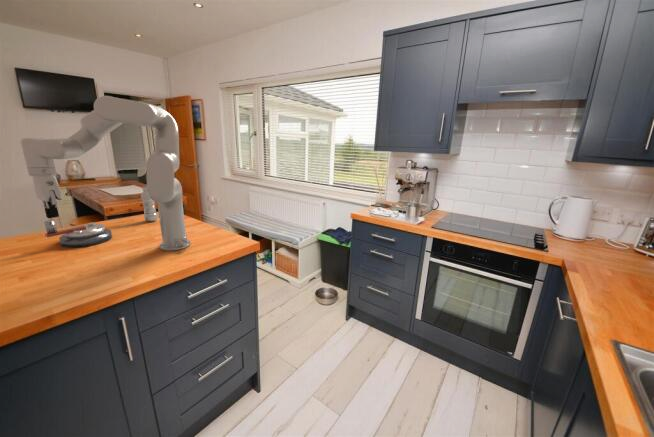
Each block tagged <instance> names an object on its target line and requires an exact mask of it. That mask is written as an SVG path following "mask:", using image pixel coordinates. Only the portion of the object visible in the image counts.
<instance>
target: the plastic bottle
mask: <svg viewBox="0 0 654 437" xmlns="http://www.w3.org/2000/svg"><path fill="white" fill-rule="evenodd" d="M142 191H143V192H142V193H141V195H140V199H141V201H142V206H143V212H144V214H143V218H144V221H146V222H155V221H157V220H159V214H158V213H157V210H156V205H155V204H156V202H155V201H153V200H152V199H151V198H150V196H149V194H148V190H147V185H146V186H142Z"/></svg>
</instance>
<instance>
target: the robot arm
mask: <svg viewBox="0 0 654 437" xmlns="http://www.w3.org/2000/svg"><path fill="white" fill-rule="evenodd" d="M176 121H177V120H175V118H174V116H172V115H171V113H170V112H168V111H166V110H165V109H164V108H162V107H160V106H158V105H155V104H152V103H147V102H143V101H137V100H131V99H127V98H122V97H121V98H119V97H114V96H111V95H101V96H99V97H97V98H96V99H95V101H94V102H93V110H91V111H90V112H88V113H87V114H86V115H83V117H82V118H81V119H80V123H81V125H82V126H81V128H79V130H78V131H77V132H75V133H74V134H72V135H70V136H69V137H68V138H67V137H66V138H64V137H63V138H48V139H47V138H43V137H24V138H22V139H21V140H20V144H21V148H22V154H23V156H24V160H25V161H24V162H25V164H26V169H27V173H28V176H29V177H32V181H33V182H32V183H33V187H34V192H35V195H36V198H37V199H38V200H41V201H42V205H43V207H44V212H45V217H46V218H47V219H55V218H59V217H60V215H59V211H58V202H57V200H58V201H62V200H63V196H62V191H61V189H60V184H59V182H58V180H57V173H58V172H57V170H56V164H55V160H67V159H74V158H79V157H81V156H83V155H84V154H86V153H87V152H90V150H92V149H93V148H95V147H96V146H97V145H98V144H99V143H100V142H101V141H102V140H103V138H104V137H105V136H107V135H108V134H110V133H111V132H112V131H114V130H115V129H118V128H119V127H120V126H121V125H123V124H126V125H135V126H140V127H146V128H147V127H148V128H153V129H155V137H154V144H155V147H154V149H155V152H153V153H151V154H150V155H149V157H147V161H146V186H147V190H148V194H149V196H150V198H151V199H152V200H153V201H154V202H155V203H157V210H158V220H159V224H160V232H161V239H162V242H160V243H159V245H158V246H159V249H160V250H162V251H169V252H172V251H173V252H174V251H178V250H183V249H186V248H188V247H190V246H191V240H190V239H189V238H188V237H187V234H186V233H187V232H186V224H185V215H184V214H185V213H184V206H183V204H184V203H183V187H182V184H181V182H180V181H179V180H178V179H177V178H176V177H175V173H176V172H177V171H178V170H179V168H180V163H181V162H180V136H179V135H180V134H179V132H180V131H179V127H178V123H177V122H176Z"/></svg>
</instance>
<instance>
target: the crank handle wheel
mask: <svg viewBox="0 0 654 437" xmlns="http://www.w3.org/2000/svg"><path fill="white" fill-rule="evenodd" d="M43 224H44V227H45V231H46V233H44V235H45V236H44V237H46V238H50V237H51V238H52V237H56V236H62V235H65V237H66V238H67V239H84V238H90V237H95V236H98V235H101V234H103V233H105V229H106V226H105V225H104V224H101V223H100V224H99V223H96V222H88V223H86V224H81V225H76V226H73V227H68V228H67V229H66V228H65V229H60V230H57V227H56V226H57V225H56V222H55V220H45V221H44V222H43Z"/></svg>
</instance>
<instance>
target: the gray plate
mask: <svg viewBox="0 0 654 437" xmlns="http://www.w3.org/2000/svg"><path fill="white" fill-rule="evenodd" d="M58 239H59V244H60V246H61V247H62V248H65V249H81V248H87V247H92V246H97V245H101V244H104V243H107V242H108V241H110V240H111V239H113V235H112V230H111V229H109V228H105V233H103V234H101V235H98V236H95V237H90V238H84V239H67V238H66V237H65V234H61V235H60V236H59V238H58Z"/></svg>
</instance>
